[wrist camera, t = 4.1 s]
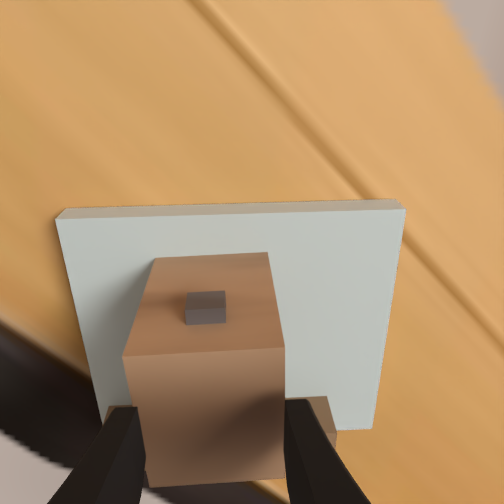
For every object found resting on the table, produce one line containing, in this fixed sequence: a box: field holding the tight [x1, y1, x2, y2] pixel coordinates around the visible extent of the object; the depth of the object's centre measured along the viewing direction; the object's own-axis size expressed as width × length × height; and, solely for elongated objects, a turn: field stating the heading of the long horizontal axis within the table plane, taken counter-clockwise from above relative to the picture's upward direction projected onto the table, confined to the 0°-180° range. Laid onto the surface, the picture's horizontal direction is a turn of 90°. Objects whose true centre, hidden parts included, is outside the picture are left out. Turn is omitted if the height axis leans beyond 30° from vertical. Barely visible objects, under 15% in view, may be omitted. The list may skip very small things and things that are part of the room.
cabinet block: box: [122, 252, 285, 487], centre depth 16 cm, size 6×4×6 cm
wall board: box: [55, 199, 406, 470], centre depth 19 cm, size 12×14×3 cm
